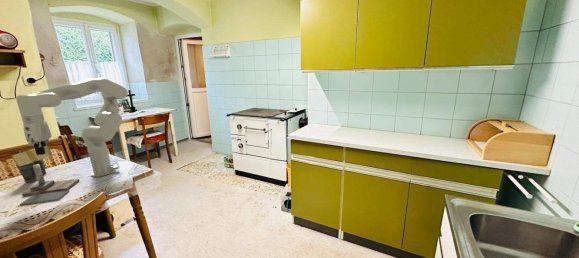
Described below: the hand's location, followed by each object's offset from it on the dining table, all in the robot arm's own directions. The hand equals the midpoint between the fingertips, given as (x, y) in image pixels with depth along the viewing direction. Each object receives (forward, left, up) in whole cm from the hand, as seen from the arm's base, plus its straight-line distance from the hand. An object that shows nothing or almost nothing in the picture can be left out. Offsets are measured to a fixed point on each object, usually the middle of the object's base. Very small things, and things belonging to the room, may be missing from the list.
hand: (43, 153), depth 122 cm
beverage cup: (+25, -23, -24) cm, 41 cm away
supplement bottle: (+27, -33, -24) cm, 49 cm away
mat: (+2, +5, -24) cm, 24 cm away
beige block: (+3, 0, -4) cm, 5 cm away
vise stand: (+6, -8, -24) cm, 26 cm away
